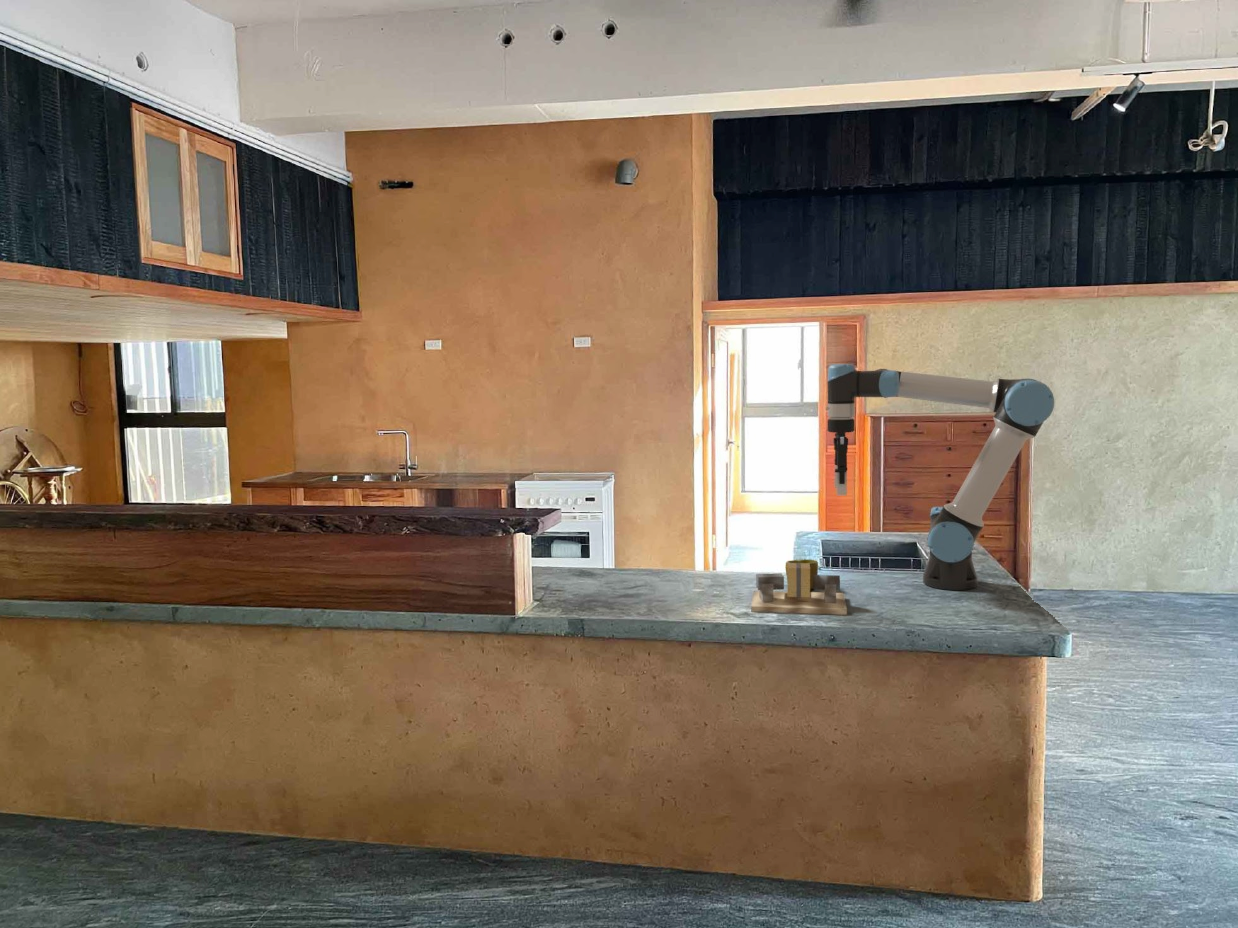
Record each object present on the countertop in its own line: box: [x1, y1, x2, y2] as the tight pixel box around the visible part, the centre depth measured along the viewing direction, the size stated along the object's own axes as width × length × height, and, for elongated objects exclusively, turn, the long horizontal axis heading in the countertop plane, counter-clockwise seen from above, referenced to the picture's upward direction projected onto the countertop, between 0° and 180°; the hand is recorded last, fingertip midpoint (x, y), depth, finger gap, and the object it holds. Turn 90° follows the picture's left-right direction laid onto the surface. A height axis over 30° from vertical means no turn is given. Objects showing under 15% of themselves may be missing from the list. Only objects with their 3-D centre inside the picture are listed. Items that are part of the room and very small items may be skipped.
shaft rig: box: [750, 572, 848, 616], centre depth 246 cm, size 25×16×8 cm, turn 79°
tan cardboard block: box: [786, 563, 811, 597], centre depth 246 cm, size 6×6×8 cm
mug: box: [785, 558, 819, 590], centre depth 265 cm, size 12×10×10 cm
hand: (840, 491), depth 259 cm, fingers open, 13 cm apart
